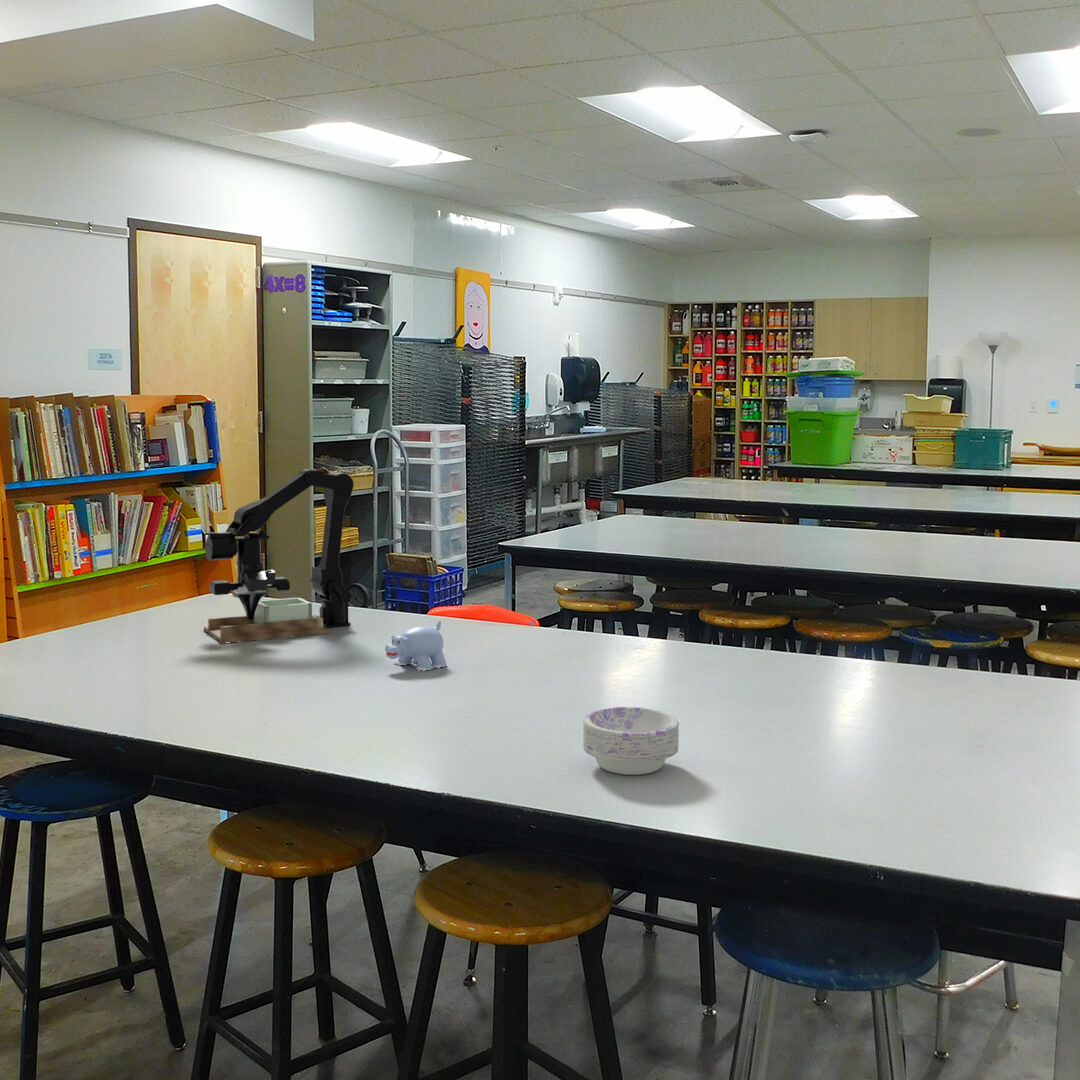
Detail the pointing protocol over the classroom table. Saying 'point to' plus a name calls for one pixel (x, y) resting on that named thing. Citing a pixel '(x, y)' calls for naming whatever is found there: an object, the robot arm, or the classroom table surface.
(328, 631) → the wooden serving tray
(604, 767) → the paper bowls
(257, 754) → the classroom table surface
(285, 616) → the sage green bevelled box
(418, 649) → the hippopotamus toy
